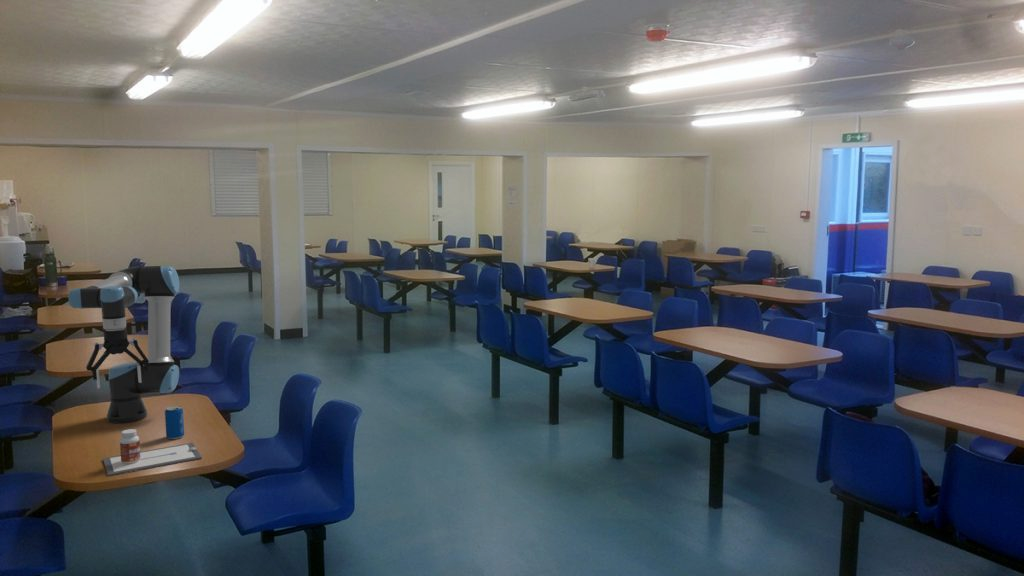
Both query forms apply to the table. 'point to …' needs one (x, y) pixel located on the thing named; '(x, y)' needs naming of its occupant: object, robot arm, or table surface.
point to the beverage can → (174, 422)
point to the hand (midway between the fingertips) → (119, 384)
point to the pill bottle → (129, 447)
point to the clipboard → (153, 459)
